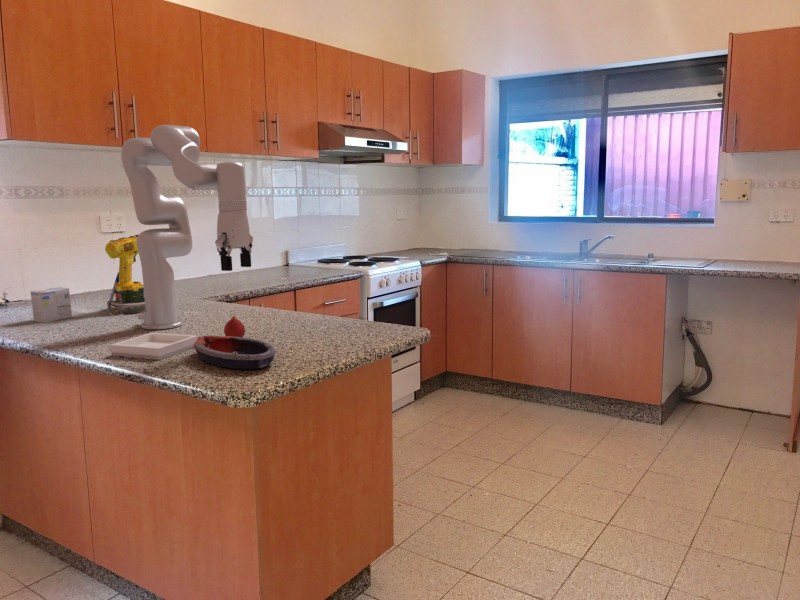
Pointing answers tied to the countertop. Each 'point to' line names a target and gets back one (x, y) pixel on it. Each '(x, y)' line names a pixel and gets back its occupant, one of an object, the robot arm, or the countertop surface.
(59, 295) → the light bulb box
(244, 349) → the dish
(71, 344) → the countertop surface
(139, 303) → the cordless drill
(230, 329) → the onion
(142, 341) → the tray
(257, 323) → the countertop surface
